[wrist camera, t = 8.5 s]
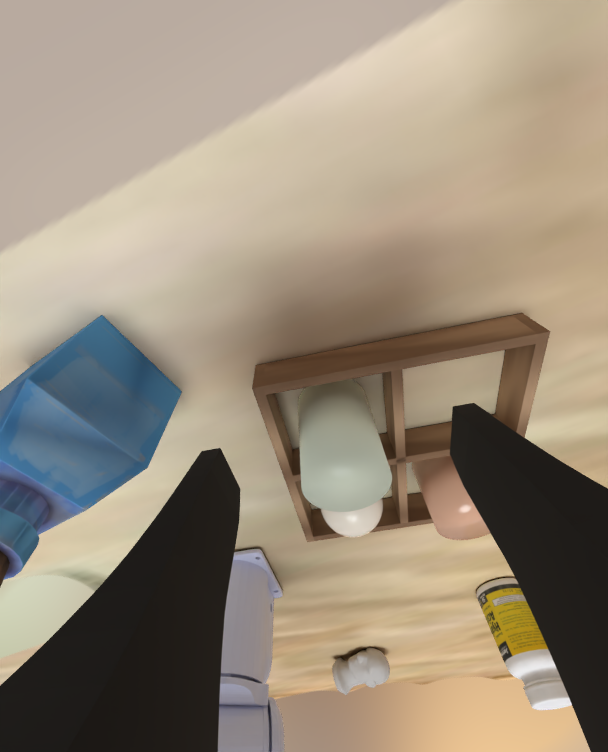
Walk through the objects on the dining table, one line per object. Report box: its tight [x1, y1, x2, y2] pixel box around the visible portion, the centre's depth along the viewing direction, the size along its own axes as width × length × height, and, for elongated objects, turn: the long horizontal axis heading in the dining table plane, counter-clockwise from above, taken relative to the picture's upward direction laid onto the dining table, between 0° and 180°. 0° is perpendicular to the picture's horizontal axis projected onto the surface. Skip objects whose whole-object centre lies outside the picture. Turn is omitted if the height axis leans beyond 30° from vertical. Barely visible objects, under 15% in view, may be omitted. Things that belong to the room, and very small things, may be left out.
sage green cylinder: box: [298, 379, 392, 512], centre depth 19 cm, size 5×5×6 cm
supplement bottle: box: [477, 578, 572, 710], centre depth 34 cm, size 5×5×10 cm
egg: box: [321, 498, 383, 537], centre depth 24 cm, size 5×5×5 cm
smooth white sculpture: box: [332, 648, 390, 695], centre depth 46 cm, size 4×8×5 cm
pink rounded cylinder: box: [412, 456, 490, 540], centre depth 24 cm, size 5×5×5 cm
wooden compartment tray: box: [252, 313, 550, 542], centre depth 23 cm, size 16×16×2 cm
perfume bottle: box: [0, 315, 182, 586], centre depth 15 cm, size 6×6×12 cm
